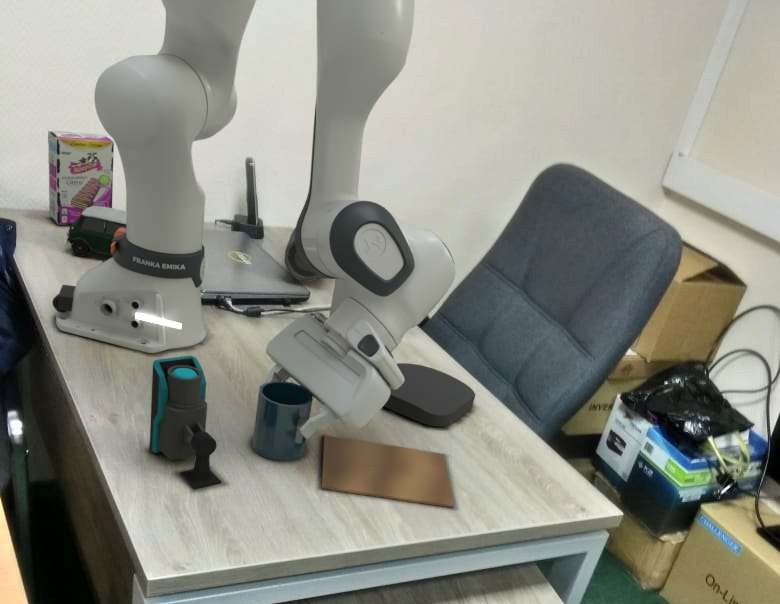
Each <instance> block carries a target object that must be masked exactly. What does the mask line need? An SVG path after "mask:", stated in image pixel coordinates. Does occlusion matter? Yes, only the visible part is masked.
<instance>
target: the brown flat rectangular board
mask: <svg viewBox="0 0 780 604" xmlns="http://www.w3.org/2000/svg"><path fill="white" fill-rule="evenodd" d="M322 451H323V452H322V455H323V456H322V475H321V489H323V490H329V491H336V492H343V493H349V494H355V495H356V494H357V495H362V496H363V495H364V496H371V497H378V498H382V499H389V500H397V501H403V502H411V503H416V504H424V505H431V506H438V507H445V508H452V509H453V508H454V501H453V496H452V491H451V485H450V481H449V476H448V471H447V466H446V461H445V456H444V453H438V452H433V451H427V450H421V449H414V448H408V447H407V448H406V447H402V446H395V445H390V444H389V445H388V444H383V443H376V442H370V441H364V440H357V439H350V438H345V437H338V436H332V435H325V434H324V435H323V449H322Z"/></svg>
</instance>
